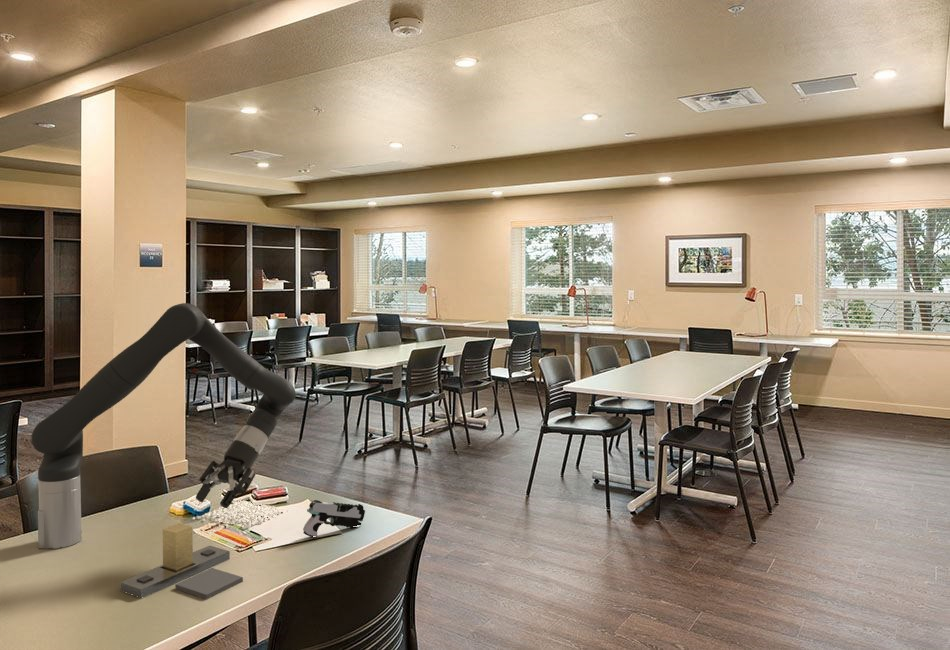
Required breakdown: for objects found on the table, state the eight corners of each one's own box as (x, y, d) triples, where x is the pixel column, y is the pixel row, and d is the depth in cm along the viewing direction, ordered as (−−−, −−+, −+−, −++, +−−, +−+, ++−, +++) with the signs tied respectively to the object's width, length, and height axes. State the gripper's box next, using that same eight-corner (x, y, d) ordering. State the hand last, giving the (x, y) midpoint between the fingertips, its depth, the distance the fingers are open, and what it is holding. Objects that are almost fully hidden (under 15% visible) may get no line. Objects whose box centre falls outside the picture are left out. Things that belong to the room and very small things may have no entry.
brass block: (176, 580, 155) (175, 532, 154) (163, 575, 157) (162, 529, 156) (192, 572, 159) (192, 526, 158) (179, 568, 161) (179, 523, 160)
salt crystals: (291, 513, 202) (291, 507, 202) (244, 533, 184) (244, 528, 184) (240, 502, 211) (240, 497, 211) (189, 521, 193) (189, 515, 193)
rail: (141, 598, 146) (140, 588, 145) (120, 591, 149) (120, 580, 149) (229, 559, 167) (229, 549, 167) (209, 553, 170) (209, 544, 170)
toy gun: (357, 542, 189) (367, 506, 190) (303, 537, 179) (313, 500, 180) (354, 539, 191) (363, 504, 192) (299, 535, 180) (309, 497, 182)
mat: (206, 599, 146) (206, 594, 146) (175, 588, 150) (175, 584, 150) (242, 581, 155) (242, 577, 154) (212, 571, 159) (212, 567, 159)
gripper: (218, 435, 176) (181, 491, 166) (259, 442, 169) (222, 500, 160) (234, 451, 181) (199, 506, 171) (274, 459, 174) (240, 516, 165)
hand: (210, 503), depth 165 cm, fingers open, 8 cm apart
